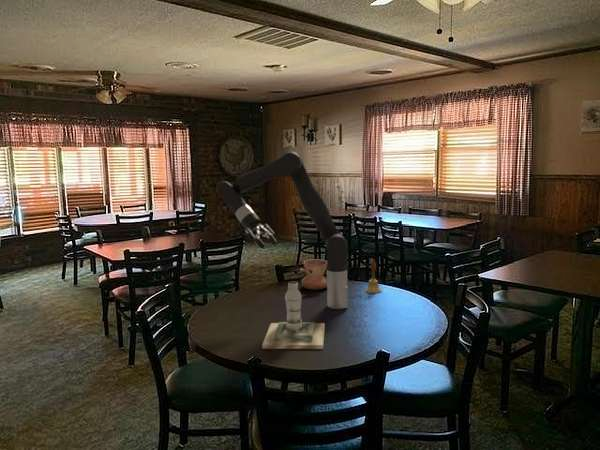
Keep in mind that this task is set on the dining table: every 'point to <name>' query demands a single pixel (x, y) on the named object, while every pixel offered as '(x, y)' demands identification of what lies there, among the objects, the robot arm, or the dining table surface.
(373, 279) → the hand bell
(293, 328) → the plastic bottle
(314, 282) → the ceramic jug
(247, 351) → the dining table surface
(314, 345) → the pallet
